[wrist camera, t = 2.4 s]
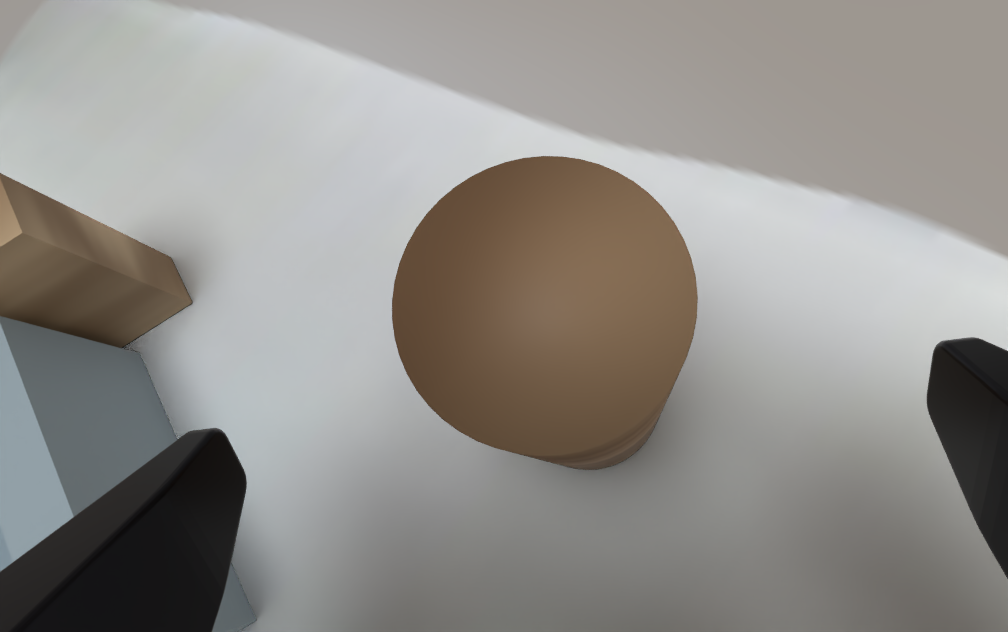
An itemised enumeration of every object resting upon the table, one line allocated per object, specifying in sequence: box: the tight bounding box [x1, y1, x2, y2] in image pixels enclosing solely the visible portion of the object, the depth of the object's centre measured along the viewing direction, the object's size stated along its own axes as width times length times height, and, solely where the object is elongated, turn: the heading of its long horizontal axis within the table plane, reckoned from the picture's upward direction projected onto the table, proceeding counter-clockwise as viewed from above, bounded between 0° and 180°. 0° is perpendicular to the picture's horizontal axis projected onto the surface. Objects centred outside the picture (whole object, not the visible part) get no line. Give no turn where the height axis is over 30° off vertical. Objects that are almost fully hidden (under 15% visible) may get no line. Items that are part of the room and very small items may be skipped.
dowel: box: [392, 156, 698, 470], centre depth 13 cm, size 4×4×10 cm
